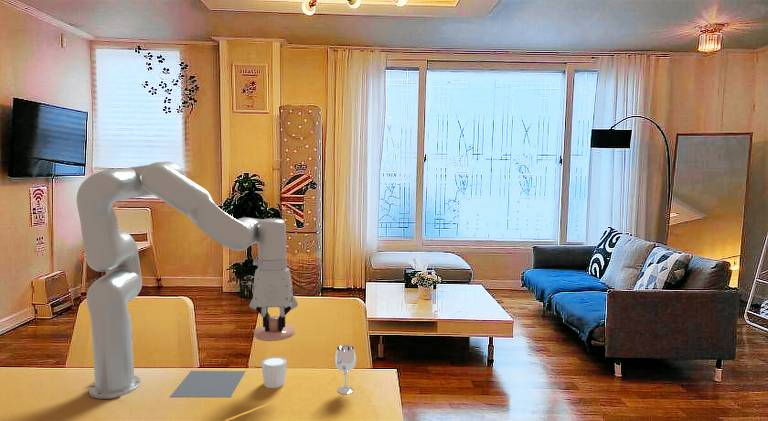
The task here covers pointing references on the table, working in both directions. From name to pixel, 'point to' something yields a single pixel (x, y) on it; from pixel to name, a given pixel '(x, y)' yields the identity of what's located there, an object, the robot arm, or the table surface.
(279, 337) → the lid
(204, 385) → the mat
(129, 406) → the table surface
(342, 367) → the wineglass
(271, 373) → the white cup
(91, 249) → the robot arm
